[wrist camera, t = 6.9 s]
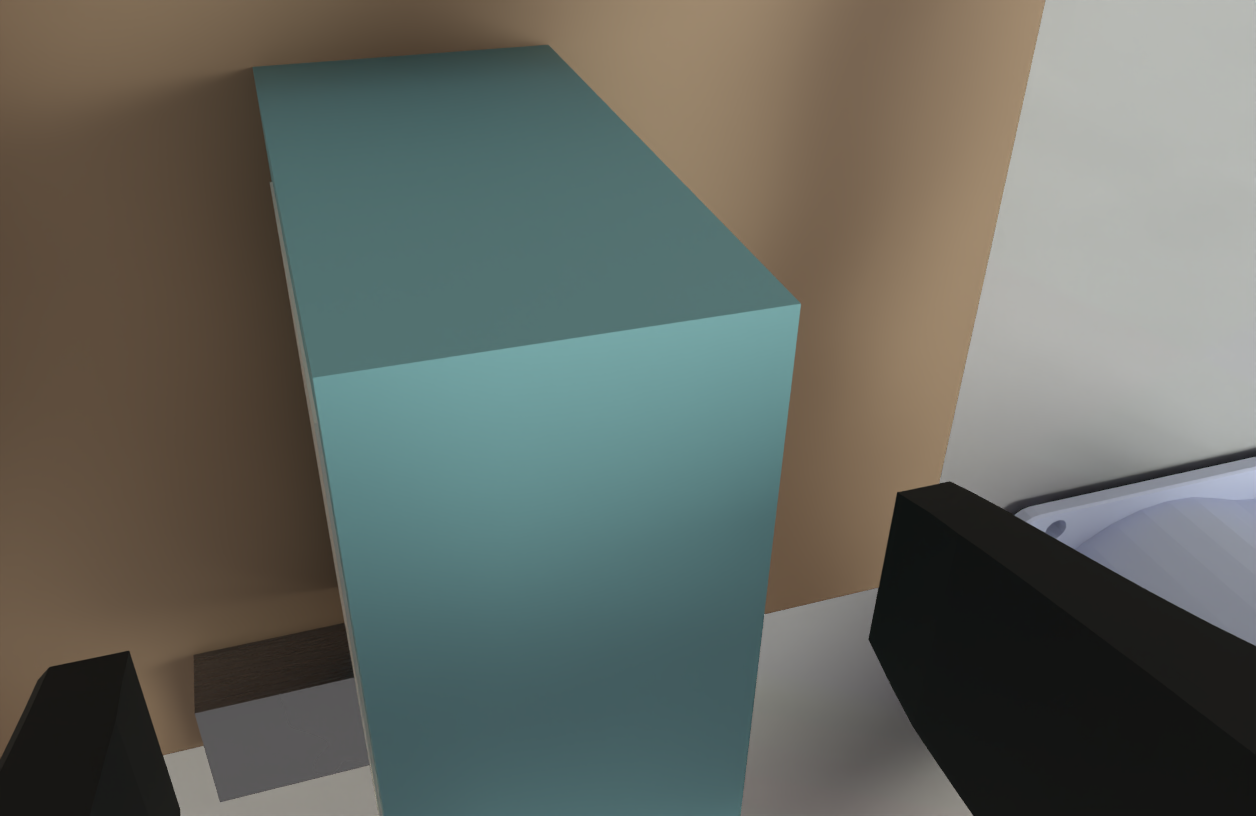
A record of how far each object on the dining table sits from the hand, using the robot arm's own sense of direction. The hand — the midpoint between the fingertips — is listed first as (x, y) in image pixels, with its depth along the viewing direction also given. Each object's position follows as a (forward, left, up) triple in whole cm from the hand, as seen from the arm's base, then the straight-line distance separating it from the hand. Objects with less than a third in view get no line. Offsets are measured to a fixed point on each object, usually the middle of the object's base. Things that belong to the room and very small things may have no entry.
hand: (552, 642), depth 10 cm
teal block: (0, 0, -6) cm, 6 cm away
